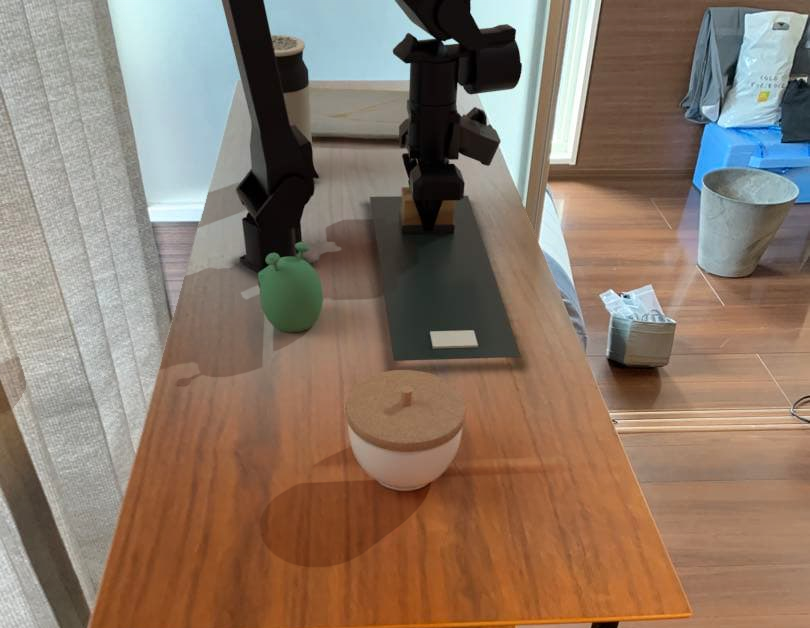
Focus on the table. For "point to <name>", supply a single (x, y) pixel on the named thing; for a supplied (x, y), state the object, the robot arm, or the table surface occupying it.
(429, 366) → the table surface
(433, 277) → the board
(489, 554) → the table surface
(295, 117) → the travel mug
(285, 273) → the alien toy
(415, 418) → the trinket box
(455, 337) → the smudge
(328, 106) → the decorative slab
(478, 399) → the table surface
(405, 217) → the eraser
